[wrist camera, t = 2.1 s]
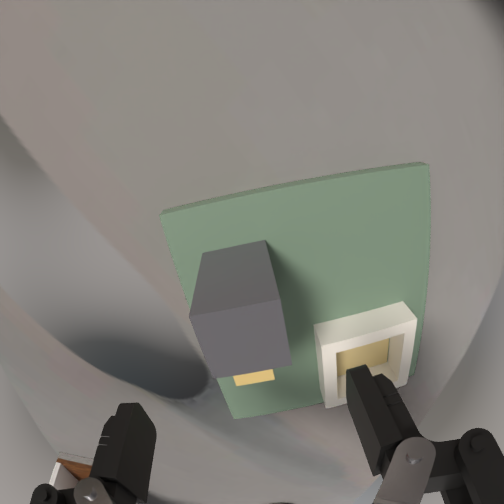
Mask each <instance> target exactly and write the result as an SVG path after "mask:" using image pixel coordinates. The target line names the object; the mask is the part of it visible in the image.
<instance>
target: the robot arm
mask: <svg viewBox="0 0 504 504" xmlns="http://www.w3.org/2000/svg"><path fill="white" fill-rule="evenodd" d="M346 400H347V404H348V408H349V411H350V413H351V416H352V419H353V422H354V424H355V427H356V430H357V432H358V435H359V438H360V441H361V443H362V446H363V449H364V452H365V455H366V457H367V460H368V463H369V466H370V469H371V472H372V474H373V476H375V475H378V474H381V475H382V478H383V482H382V485H381V486H380V489H379V491H378V493H377V495H376V497H375V499H374V501H373V503H372V504H420V502H421V500H422V497H423V494H424V493H431V492H438V491H440V492H441V495H442V497H443V500H444V503H445V504H504V456H503V454H502V452H501V450H500V448H499V446H498V444H497V442H496V440H495V439H494V437H493V435H492V434H491V433H490V432H489V431H488V430H485V429H482V428H475V429H471V430H469V431H467V432H466V433H465V434H464V435H463V436H462V437H461V439H457V440H450V441H444V442H434V441H430V440H428V439H426V438H424V437H423V436H422V435H421V434H420V433H419V431H418V429H417V427H416V425H415V423H414V421H413V420H412V418H411V416H410V414H409V412H408V410H407V408H406V406H405V404H404V402H402V399H401V397H400V395H399V394H398V391H397V389H396V388H395V386H394V384H393V382H392V381H391V380H390V379H388V378H387V377H386V376H385V375H383V374H382V373H381V374H378V375H375V376H372V374H371V372H370V370H369V368H368V366H367V365H366V364H364V365H361V366H357V367H354V368H350V369H347V370H346ZM155 443H156V429H155V426H154V424H153V422H152V421H151V420H150V418H149V417H148V415H147V414H146V412H145V411H144V409H143V408H142V406H141V405H140V404H139V403H121V404H120V405H119V406H118V409H117V412H116V415H115V416H111V417H110V418H109V420H108V421H107V422H106V424H105V425H104V428H103V431H102V434H101V438H100V440H99V446H98V447H97V450H96V454H95V457H94V460H93V464H92V467H91V471H90V474H89V477H88V478H84V479H82V480H80V481H79V482H78V483H77V484H76V486H75V488H69V489H62V490H57V489H56V488H55V487H53V486H52V485H50V484H41V485H39V486H38V487H37V488H36V489H35V490H34V492H33V494H32V498H31V502H30V504H136V503H146V502H147V495H148V488H149V481H150V474H151V468H152V461H153V455H154V449H155Z"/></svg>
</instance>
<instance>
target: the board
mask: <svg viewBox="0 0 504 504" xmlns="http://www.w3.org/2000/svg"><path fill="white" fill-rule="evenodd" d="M159 216H160V220H161V223H162V226H163V230H164V233H165V236H166V239H167V243H168V246H169V249H170V252H171V255H172V258H173V261H174V264H175V267H176V270H177V273H178V276H179V279H180V282H181V285H182V288H183V291H184V294H185V297H186V300H187V302H188V305H189V308H190V309H191V304H192V299H193V294H194V290H195V285H196V280H197V276H198V271H199V266H200V262H201V257H202V253H204V252H209V251H214V250H218V249H223V248H228V247H233V246H237V245H242V244H247V243H252V242H256V241H261V240H265V242H266V246H267V249H268V253H269V257H270V261H271V265H272V269H273V272H274V276H275V280H276V284H277V288H278V292H279V296H280V300H281V305H282V311H283V316H284V322H285V327H286V333H287V338H288V344H289V349H290V355H291V361H292V365H290V366H285V367H280V368H275V369H273V371H274V377H275V380H269V381H264V382H258V383H253V384H247V385H241V386H236V383H235V381H234V378H233V376H230V377H223V378H217V381H218V383H219V386H220V388H221V390H222V393H223V395H224V397H225V400H226V402H227V404H228V407H229V409H230V411H231V414H232V416H233V418H234V419H239V418H246V417H252V416H259V415H265V414H271V413H276V412H281V411H287V410H292V409H296V408H301V407H306V406H310V405H315V404H319V403H323V402H324V404H325V407H326V409H328V408H332V407H335V406H339V405H343V404H347V400H346V370H347V369H350V368H354V367H357V366H361V365H364V364H366V365H367V366H368V368H369V370H370V372H371V374H372V376H375V375H378V374H381V373H382V374H383V375H385V376H386V377H387V378H388V379H390V380H391V381H392V382H393V384H394V386H395V388H398V387H401V386H404V385H407V380H408V377H409V376H412V375H414V373H415V368H416V363H417V358H418V352H419V346H420V340H421V334H422V327H423V320H424V313H425V304H426V295H427V285H428V273H429V257H430V229H431V201H430V173H429V164H425V163H422V162H416V163H408V164H400V165H393V166H385V167H378V168H372V169H365V170H358V171H352V172H346V173H340V174H334V175H328V176H322V177H316V178H311V179H305V180H300V181H294V182H289V183H284V184H278V185H273V186H268V187H263V188H258V189H254V190H249V191H244V192H239V193H235V194H230V195H226V196H221V197H217V198H212V199H208V200H203V201H199V202H195V203H191V204H187V205H182V206H178V207H174V208H170V209H166V210H163V211H162V213H161V214H160V215H159Z"/></svg>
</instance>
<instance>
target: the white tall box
mask: <svg viewBox="0 0 504 504" xmlns="http://www.w3.org/2000/svg"><path fill="white" fill-rule="evenodd" d="M93 460H94V459H90V458H85V457H80V456H75V455H70V454H66V453H62V452H60V453H59V456H58V459H57V461H56V464H55V467H54V470H53V473H52V476H51V479H50V482H49V484H50V485H52V486H53V487H55V488H56V489H57V490H62V489H69V488H75V486H76V484H77V483H78V482H79V481H80V480H82V479H84V478H88V477H89V474H90V471H91V467H92V464H93ZM136 504H138V503H136Z"/></svg>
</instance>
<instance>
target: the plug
mask: <svg viewBox="0 0 504 504" xmlns="http://www.w3.org/2000/svg"><path fill="white" fill-rule="evenodd" d="M189 318H190V321H191V323H192V326H193V329H194V331H195V334H196V337H197V339H198V342H199V344H200V347H201V349H202V352H203V354H204V357H205V359H206V362H207V364H208V367H209V369H210V372H211V374H212V376H213V379H216V378H223V377H230V376H233V378H234V381H235V383H236V386H241V385H247V384H253V383H258V382H264V381H269V380H275V377H274V371H273V369H275V368H280V367H285V366H290V365H292V361H291V355H290V349H289V344H288V338H287V333H286V327H285V322H284V316H283V311H282V305H281V300H280V296H279V292H278V288H277V284H276V280H275V276H274V272H273V269H272V265H271V261H270V257H269V253H268V249H267V246H266V242H265V240H261V241H256V242H252V243H247V244H242V245H237V246H233V247H228V248H223V249H218V250H214V251H209V252H204V253H202V257H201V262H200V266H199V271H198V276H197V280H196V285H195V290H194V294H193V299H192V304H191V309H190V314H189Z"/></svg>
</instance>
